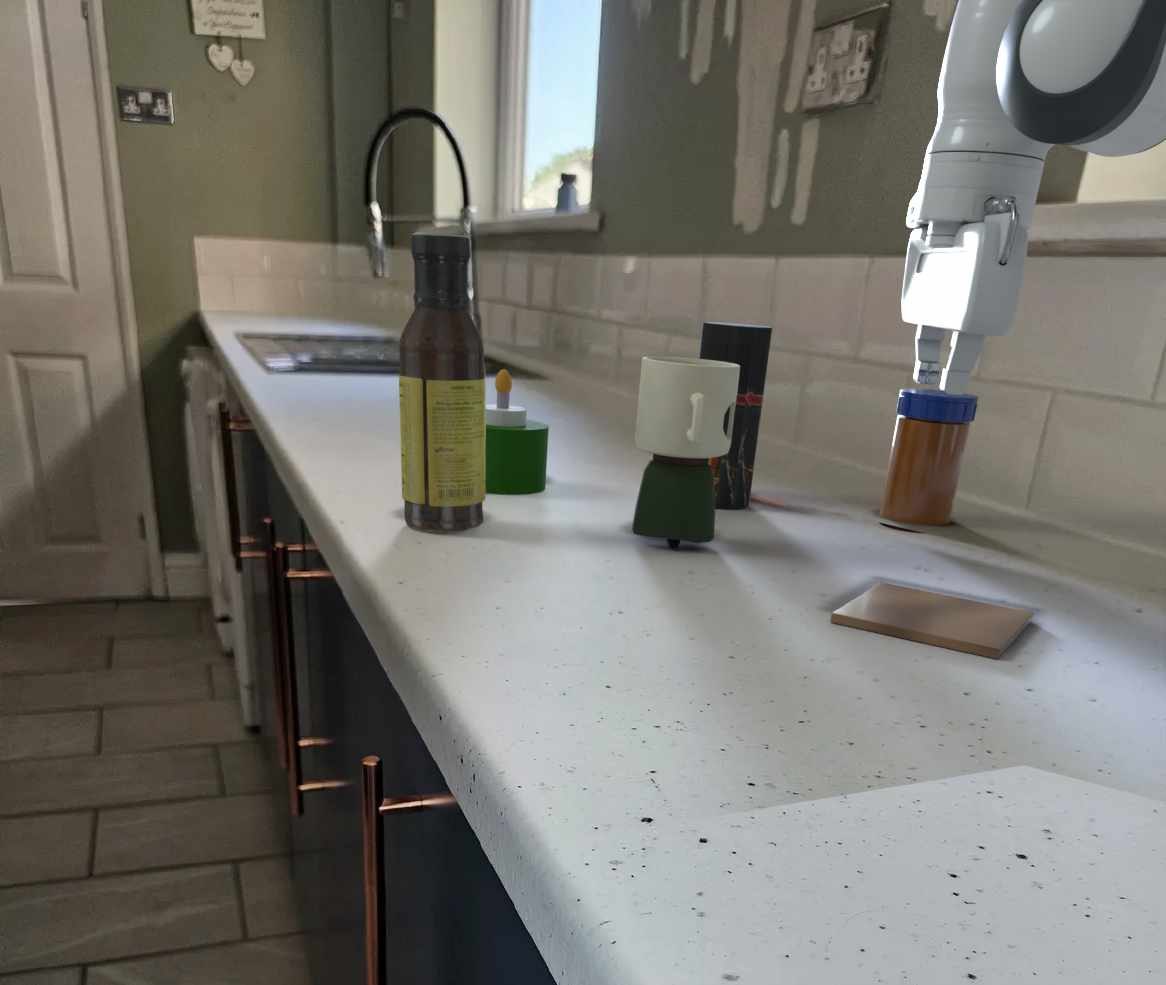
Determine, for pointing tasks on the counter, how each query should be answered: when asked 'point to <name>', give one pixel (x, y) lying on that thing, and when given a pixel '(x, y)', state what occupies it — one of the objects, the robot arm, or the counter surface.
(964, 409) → the jar lid
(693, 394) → the character mug
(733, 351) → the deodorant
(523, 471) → the candle
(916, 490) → the jar
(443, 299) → the sauce bottle
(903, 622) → the coaster
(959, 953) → the counter surface
